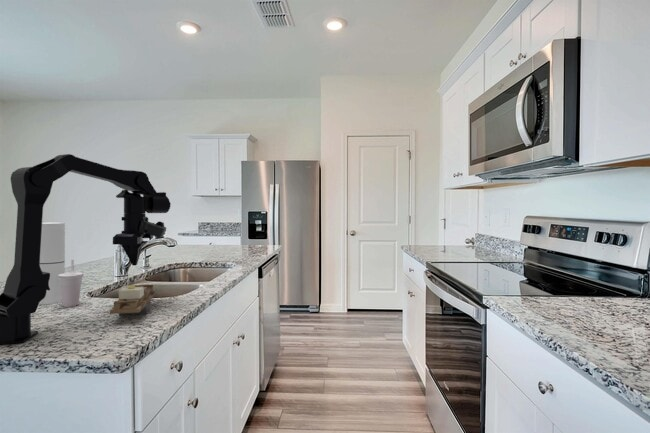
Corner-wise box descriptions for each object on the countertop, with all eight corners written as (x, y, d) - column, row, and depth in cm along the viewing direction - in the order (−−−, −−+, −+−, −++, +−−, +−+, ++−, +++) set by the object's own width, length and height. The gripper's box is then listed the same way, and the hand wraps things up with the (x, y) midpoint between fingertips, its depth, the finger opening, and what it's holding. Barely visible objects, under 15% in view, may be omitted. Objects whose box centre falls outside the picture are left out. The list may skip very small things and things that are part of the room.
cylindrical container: (31, 305, 106) (31, 223, 105) (43, 298, 112) (43, 222, 112) (58, 303, 107) (58, 223, 107) (68, 297, 114) (68, 222, 114)
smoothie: (69, 309, 102) (70, 262, 102) (52, 307, 104) (52, 261, 103) (88, 303, 109) (88, 259, 108) (71, 301, 110) (71, 258, 110)
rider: (139, 304, 95) (140, 287, 95) (118, 305, 93) (118, 287, 93) (143, 300, 99) (143, 283, 98) (123, 301, 97) (123, 284, 97)
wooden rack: (139, 323, 91) (139, 301, 91) (109, 325, 89) (109, 302, 89) (156, 303, 110) (156, 284, 110) (131, 304, 109) (132, 285, 108)
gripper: (156, 214, 96) (156, 270, 97) (170, 213, 114) (169, 259, 115) (111, 214, 94) (111, 271, 94) (133, 212, 112) (133, 260, 112)
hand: (134, 265), depth 104 cm, fingers closed
